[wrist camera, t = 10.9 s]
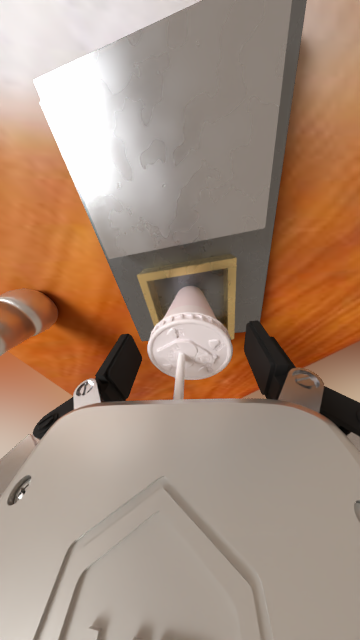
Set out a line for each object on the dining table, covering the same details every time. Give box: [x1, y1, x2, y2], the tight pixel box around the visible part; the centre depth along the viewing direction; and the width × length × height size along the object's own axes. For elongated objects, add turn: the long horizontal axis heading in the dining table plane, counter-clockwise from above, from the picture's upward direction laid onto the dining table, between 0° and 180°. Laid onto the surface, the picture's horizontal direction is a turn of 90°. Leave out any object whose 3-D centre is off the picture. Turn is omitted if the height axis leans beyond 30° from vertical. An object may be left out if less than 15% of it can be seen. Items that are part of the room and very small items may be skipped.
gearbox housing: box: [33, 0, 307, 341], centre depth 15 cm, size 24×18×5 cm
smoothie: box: [148, 286, 233, 400], centre depth 13 cm, size 6×6×14 cm
